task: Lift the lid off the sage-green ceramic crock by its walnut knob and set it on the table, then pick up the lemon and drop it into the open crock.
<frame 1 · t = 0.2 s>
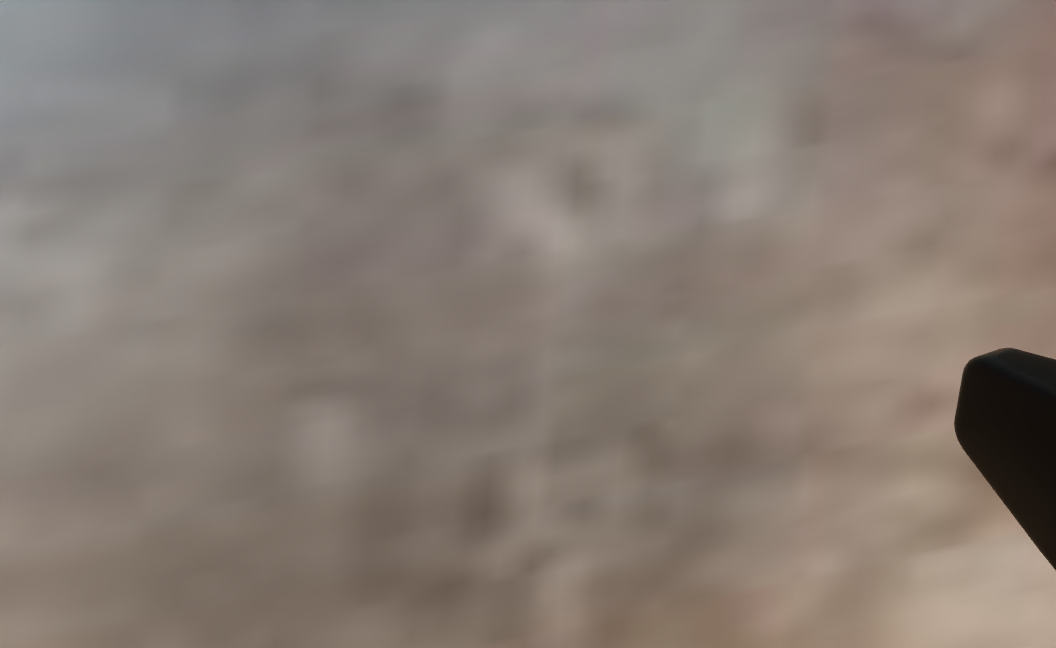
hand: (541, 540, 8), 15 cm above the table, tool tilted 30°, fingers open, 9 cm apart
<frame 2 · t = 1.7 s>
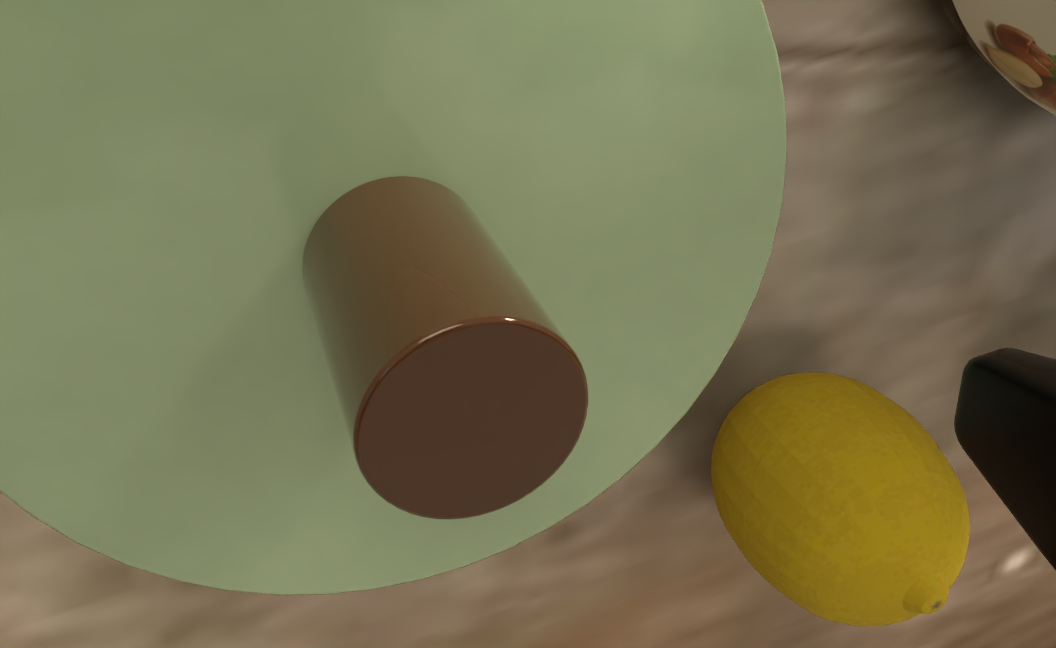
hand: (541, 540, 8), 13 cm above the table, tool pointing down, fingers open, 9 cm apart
lemon: (745, 399, 27), on the table
crock lid: (388, 246, 13), point 6 cm above the table, touching crock
when the fingers open (2 cm above the table, at t = 8.8 s): crock lid stays where it is, point 1 cm above the table.
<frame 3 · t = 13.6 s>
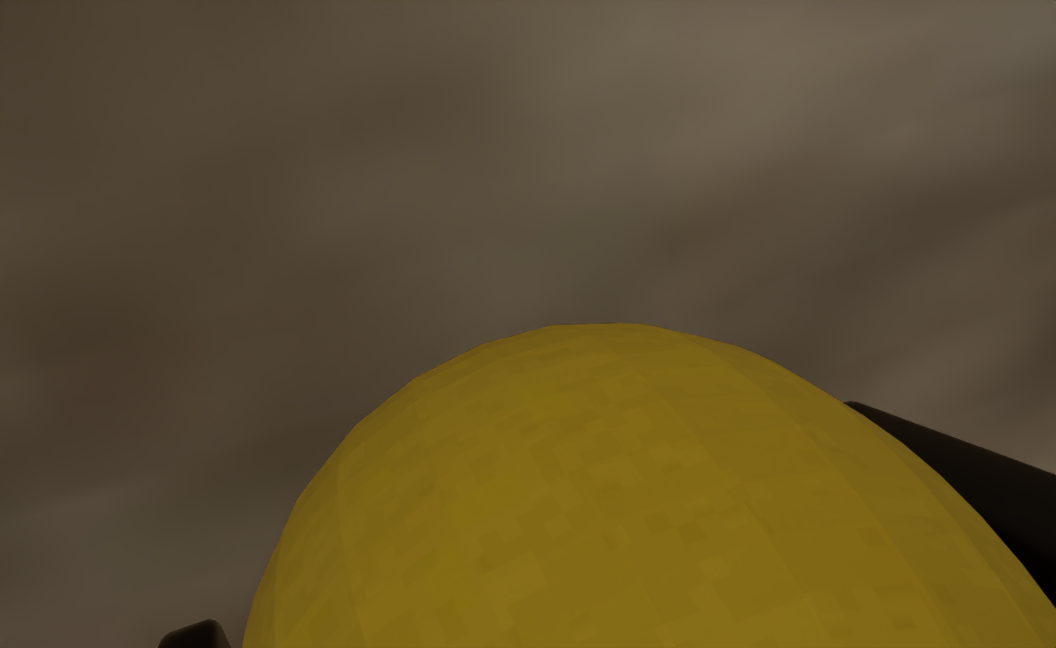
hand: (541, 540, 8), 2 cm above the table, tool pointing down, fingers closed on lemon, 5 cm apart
lemon: (474, 411, 10), on the table, touching gripper
when the fingers open (5 cm above the table, at t = 19.0 s): lemon stays where it is, resting on crock.
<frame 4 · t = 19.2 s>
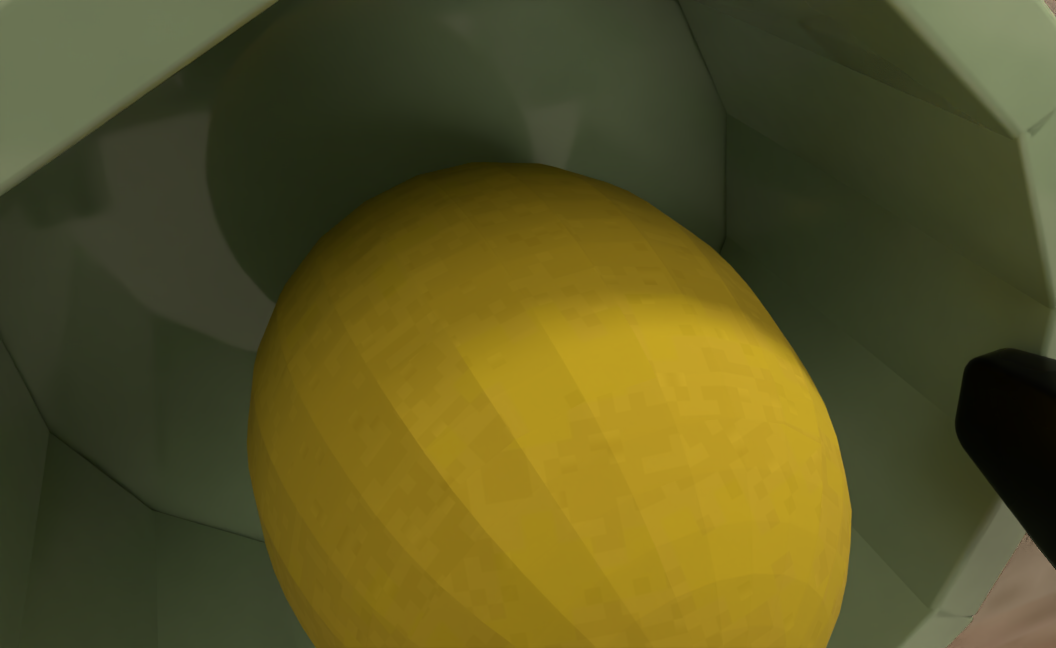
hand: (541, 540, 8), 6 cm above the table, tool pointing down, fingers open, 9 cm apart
crock: (393, 247, 13), on the table
lemon: (411, 264, 13), resting on crock
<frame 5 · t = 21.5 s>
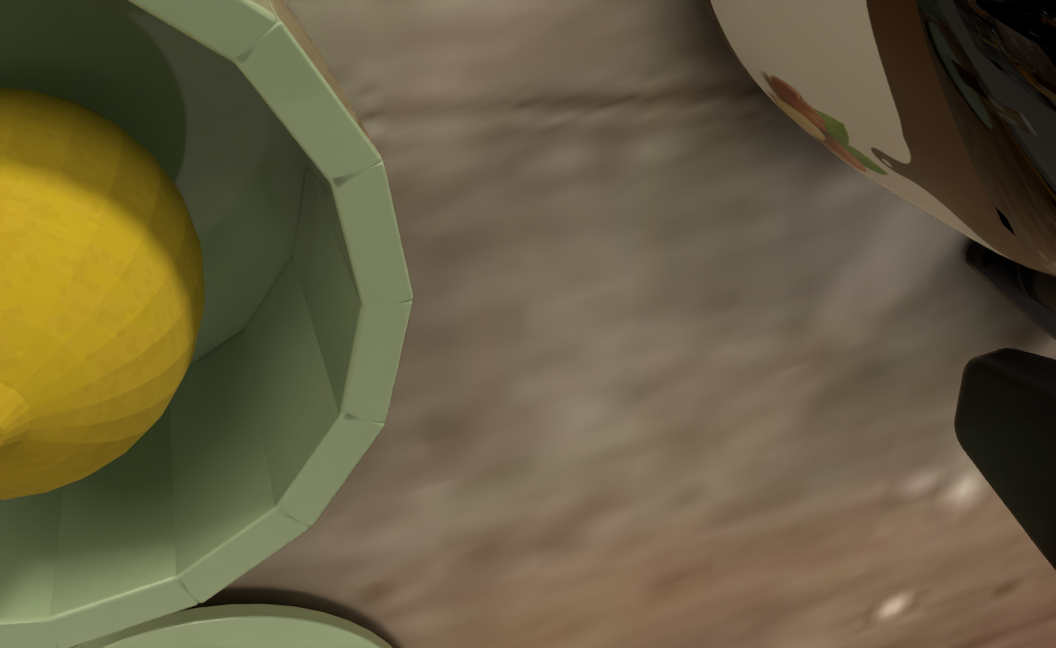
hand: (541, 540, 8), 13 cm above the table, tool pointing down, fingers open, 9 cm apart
crock: (27, 170, 18), on the table
lemon: (37, 180, 17), resting on crock
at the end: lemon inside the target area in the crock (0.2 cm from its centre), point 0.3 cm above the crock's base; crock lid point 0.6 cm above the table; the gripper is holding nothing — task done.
